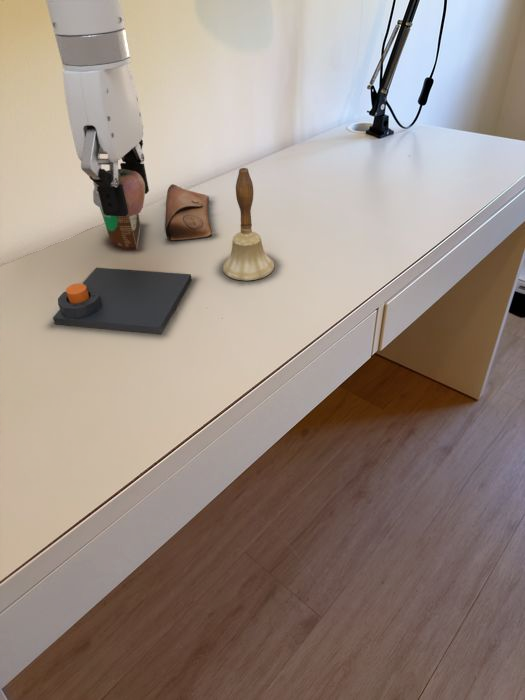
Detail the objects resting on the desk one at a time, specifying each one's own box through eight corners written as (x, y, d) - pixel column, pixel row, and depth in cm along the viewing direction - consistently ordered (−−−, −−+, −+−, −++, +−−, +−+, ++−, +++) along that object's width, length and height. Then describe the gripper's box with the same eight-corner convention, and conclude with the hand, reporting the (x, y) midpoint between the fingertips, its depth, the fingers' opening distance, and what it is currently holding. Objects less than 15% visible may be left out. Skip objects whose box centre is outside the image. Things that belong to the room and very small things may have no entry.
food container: (108, 225, 99) (95, 173, 93) (141, 222, 100) (130, 170, 93) (100, 257, 90) (85, 201, 83) (136, 254, 90) (124, 198, 84)
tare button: (65, 303, 74) (62, 293, 73) (74, 292, 76) (71, 282, 75) (83, 305, 74) (80, 294, 73) (92, 294, 76) (89, 284, 75)
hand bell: (243, 250, 89) (236, 156, 79) (284, 263, 85) (282, 165, 75) (212, 272, 84) (200, 173, 74) (254, 286, 80) (247, 185, 70)
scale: (55, 324, 75) (48, 307, 73) (97, 273, 85) (93, 257, 84) (161, 334, 72) (157, 316, 70) (191, 280, 83) (189, 263, 81)
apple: (97, 228, 67) (85, 183, 63) (110, 203, 73) (100, 160, 69) (144, 226, 67) (135, 181, 63) (153, 201, 73) (145, 158, 69)
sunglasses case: (214, 234, 93) (191, 205, 89) (183, 256, 95) (159, 228, 91) (209, 194, 107) (188, 168, 103) (182, 214, 109) (160, 189, 105)
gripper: (97, 36, 66) (127, 178, 77) (21, 66, 53) (70, 231, 64) (154, 35, 64) (175, 179, 76) (90, 66, 51) (128, 235, 62)
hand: (127, 202), depth 70 cm, fingers closed on apple, 6 cm apart
